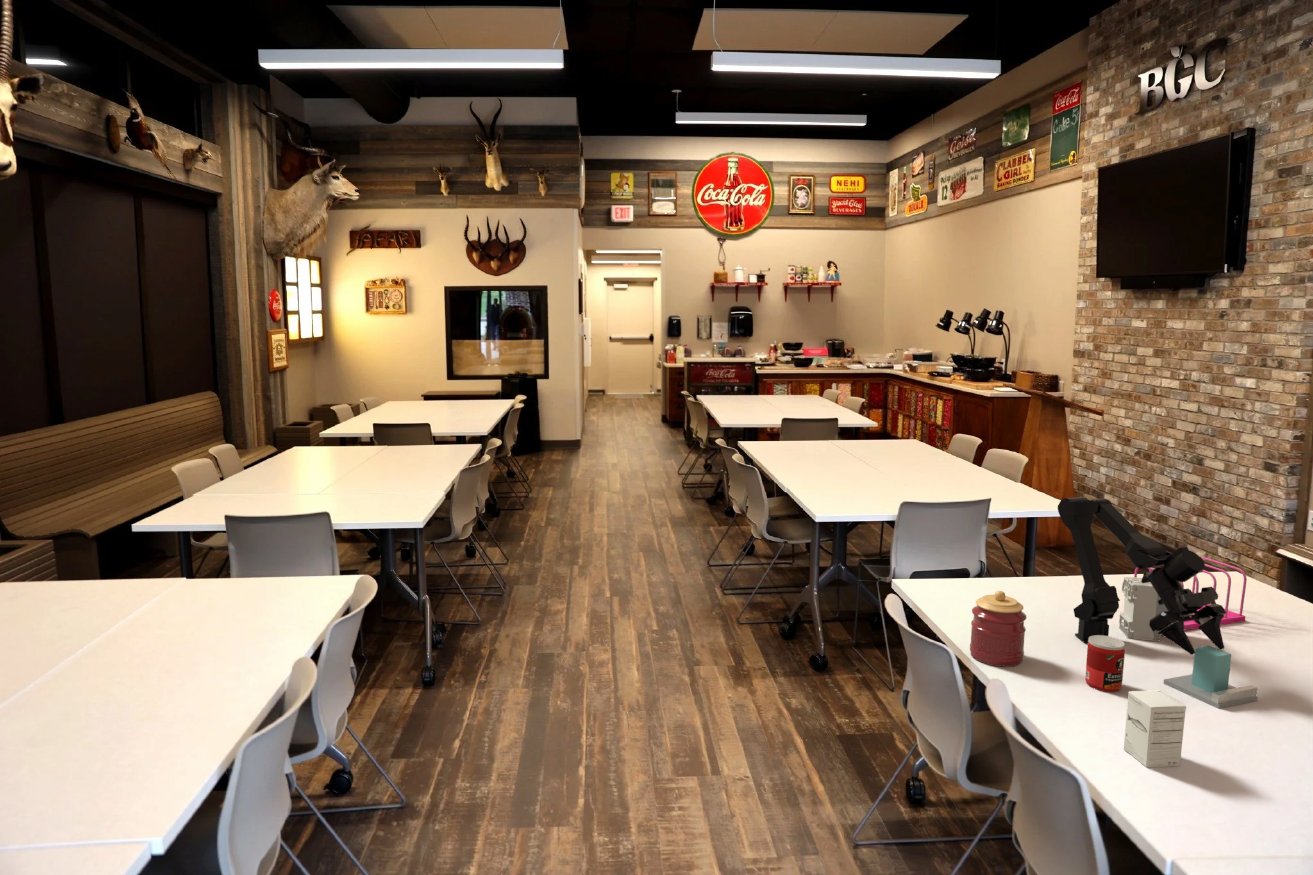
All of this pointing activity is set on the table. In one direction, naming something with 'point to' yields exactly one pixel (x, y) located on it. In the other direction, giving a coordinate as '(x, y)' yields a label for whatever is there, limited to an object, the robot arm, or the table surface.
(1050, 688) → the table surface
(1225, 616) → the file sorter
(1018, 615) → the canister
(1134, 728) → the supplement box
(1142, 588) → the circuit breaker
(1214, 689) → the block
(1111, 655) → the canned food
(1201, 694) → the plate
